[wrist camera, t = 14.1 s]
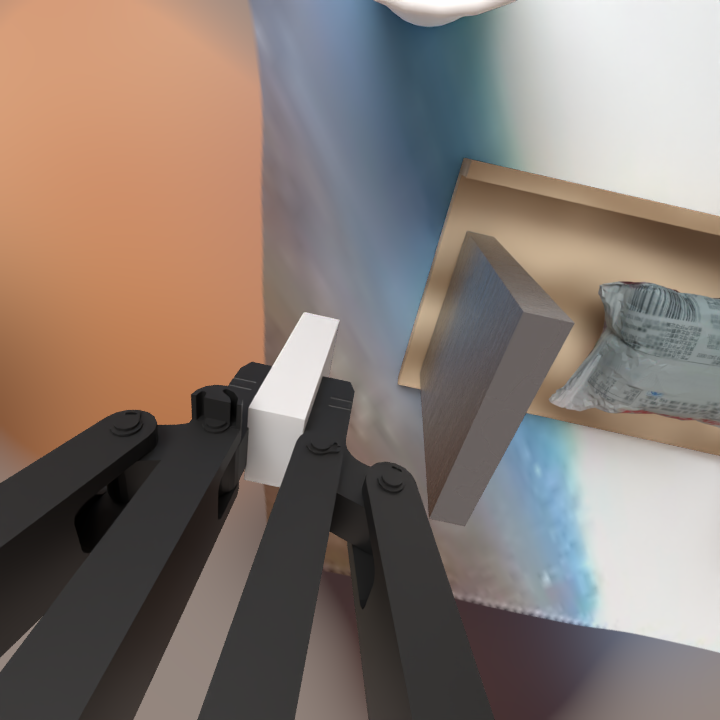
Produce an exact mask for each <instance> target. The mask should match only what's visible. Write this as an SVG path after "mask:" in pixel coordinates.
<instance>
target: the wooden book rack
mask: <svg viewBox="0 0 720 720" xmlns="http://www.w3.org/2000/svg"><path fill="white" fill-rule="evenodd" d="M467 231H471V232H475V233H479V234H484V235H488V236H493V237H495V238H496V240H497V241H498V242H499V243H500V244H501V245H502V246H503V247H504V248H505V249H506V250H507V251H508V252H509V253H510V254H511V256H512V257H513V258H514V259H515V260H516V261H517V262H518V263H519V264H520V265H521V266H522V267H523V268H524V269H525V271H526V272H527V273H528V274H529V275H530V276H531V277H532V278H533V279H534V280H535V281H536V282H537V283H538V284H539V285H540V287H541V288H542V289H543V290H544V291H545V292H546V293H547V294H548V295H549V296H550V297H551V298H552V299H553V300H554V302H555V303H556V304H557V305H558V306H559V307H560V308H561V309H562V310H563V311H564V312H565V313H566V314H567V315H568V316H569V318H570V319H571V320H572V321H573V322H574V323H575V324H574V326H573V328H572V329H571V331H570V333H569V335H568V337H567V339H566V340H565V342H564V344H563V346H562V348H561V350H560V351H559V353H558V355H557V357H556V359H555V361H554V363H553V364H552V366H551V368H550V370H549V372H548V374H547V375H546V377H545V379H544V381H543V383H542V385H541V387H540V388H539V390H538V392H537V394H536V396H535V398H534V399H533V401H532V403H531V405H530V407H529V409H528V411H527V412H526V413H530V414H534V415H539V416H543V417H548V418H552V419H557V420H561V421H566V422H570V423H575V424H579V425H584V426H588V427H593V428H597V429H602V430H606V431H611V432H615V433H620V434H624V435H629V436H633V437H638V438H642V439H647V440H651V441H656V442H660V443H665V444H669V445H674V446H678V447H683V448H687V449H692V450H696V451H701V452H705V453H710V454H714V455H719V456H720V428H719V427H715V426H712V425H708V424H704V423H701V422H698V421H696V420H684V421H681V420H678V419H674V418H668V417H664V416H661V415H657V414H629V413H608V412H604V411H602V410H599V409H597V408H590V409H587V410H583V411H576V410H569V409H566V408H561V407H559V406H557V405H554V404H552V403H551V402H550V401H549V398H550V397H551V396H552V394H555V393H556V390H557V389H560V388H562V387H563V386H564V385H565V384H566V383H567V381H568V380H569V379H570V378H571V376H572V375H573V374H574V373H575V372H576V370H577V369H578V368H579V366H580V365H581V364H582V363H583V361H584V360H585V359H586V358H587V357H588V355H589V354H590V352H591V351H592V350H593V348H594V346H595V344H596V342H597V341H598V339H599V338H600V336H601V334H602V331H603V327H604V321H605V311H604V305H603V302H602V300H601V298H600V296H599V294H598V291H599V288H600V287H599V285H602V284H604V283H612V282H618V281H630V282H648V283H654V284H657V285H660V286H664V287H666V288H670V289H675V290H677V291H679V292H680V293H690V294H696V295H702V296H707V297H710V298H720V216H716V215H712V214H707V213H703V212H699V211H694V210H690V209H685V208H681V207H677V206H672V205H668V204H664V203H659V202H655V201H651V200H646V199H642V198H638V197H633V196H629V195H624V194H620V193H616V192H611V191H607V190H603V189H598V188H594V187H590V186H585V185H581V184H576V183H572V182H568V181H563V180H559V179H555V178H550V177H546V176H542V175H537V174H533V173H529V172H524V171H520V170H515V169H511V168H507V167H502V166H498V165H494V164H489V163H485V162H481V161H476V160H472V159H468V158H464V159H463V162H462V165H461V169H460V172H459V175H458V179H457V182H456V186H455V189H454V192H453V196H452V199H451V202H450V206H449V209H448V212H447V216H446V219H445V222H444V226H443V229H442V232H441V236H440V239H439V242H438V246H437V249H436V252H435V256H434V259H433V262H432V266H431V269H430V272H429V276H428V279H427V283H426V286H425V289H424V293H423V296H422V299H421V303H420V306H419V309H418V313H417V316H416V319H415V323H414V326H413V329H412V333H411V336H410V339H409V343H408V346H407V349H406V353H405V356H404V359H403V363H402V366H401V369H400V373H399V376H398V384H399V385H403V386H408V387H412V388H417V389H421V387H420V371H421V368H422V365H423V362H424V359H425V356H426V353H427V350H428V347H429V343H430V340H431V337H432V334H433V331H434V328H435V325H436V322H437V319H438V316H439V313H440V310H441V307H442V304H443V301H444V298H445V295H446V292H447V289H448V286H449V283H450V280H451V277H452V274H453V271H454V268H455V265H456V262H457V259H458V256H459V253H460V250H461V247H462V244H463V241H464V238H465V235H466V232H467Z"/></svg>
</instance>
